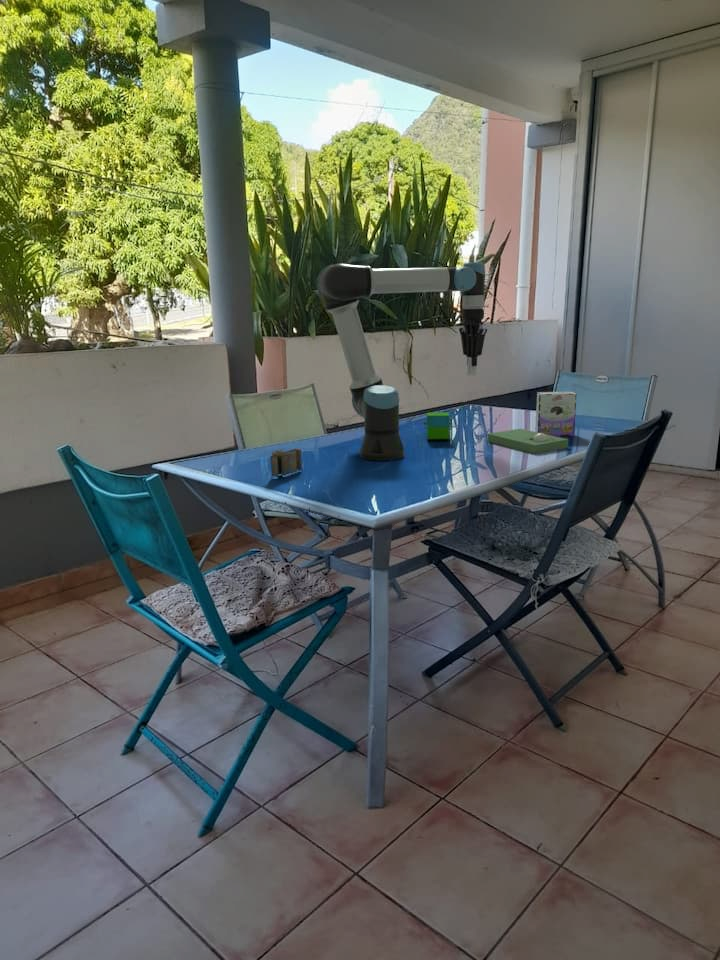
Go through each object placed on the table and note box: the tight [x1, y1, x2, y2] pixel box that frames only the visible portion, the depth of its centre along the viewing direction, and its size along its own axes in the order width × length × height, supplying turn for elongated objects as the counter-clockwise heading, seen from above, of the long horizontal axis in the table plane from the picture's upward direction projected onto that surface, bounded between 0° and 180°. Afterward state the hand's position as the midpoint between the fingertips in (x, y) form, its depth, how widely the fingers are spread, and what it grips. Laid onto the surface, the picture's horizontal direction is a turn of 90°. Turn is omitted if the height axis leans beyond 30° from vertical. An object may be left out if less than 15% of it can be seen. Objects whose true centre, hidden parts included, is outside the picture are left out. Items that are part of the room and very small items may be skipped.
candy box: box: [534, 391, 577, 437], centre depth 252 cm, size 14×6×16 cm, turn 84°
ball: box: [533, 433, 548, 441], centre depth 234 cm, size 5×5×5 cm
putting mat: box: [486, 428, 569, 454], centre depth 240 cm, size 16×24×3 cm, turn 30°
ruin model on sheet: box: [269, 448, 303, 478], centre depth 205 cm, size 11×3×10 cm, turn 145°
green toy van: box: [424, 412, 452, 442], centre depth 253 cm, size 10×13×10 cm
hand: (471, 375), depth 242 cm, fingers closed
